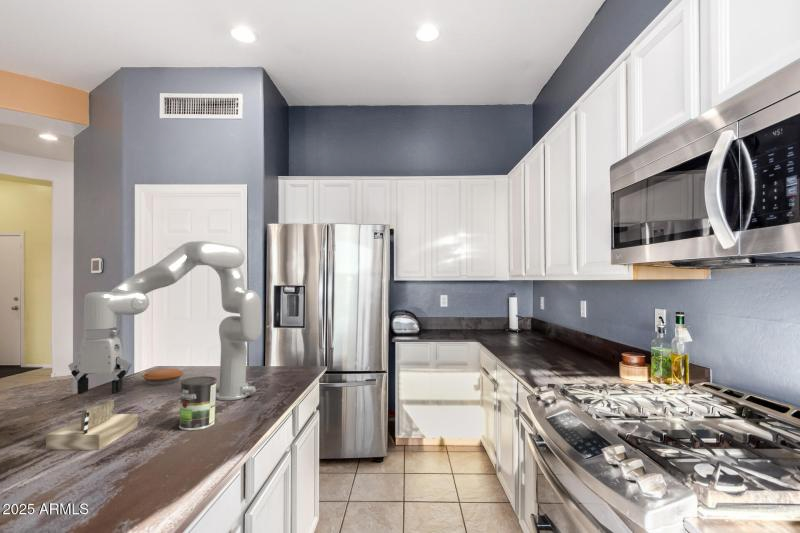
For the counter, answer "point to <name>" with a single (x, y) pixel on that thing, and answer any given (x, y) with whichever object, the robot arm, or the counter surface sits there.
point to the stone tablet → (96, 414)
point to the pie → (162, 376)
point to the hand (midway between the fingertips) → (99, 392)
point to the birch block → (91, 433)
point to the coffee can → (197, 403)
